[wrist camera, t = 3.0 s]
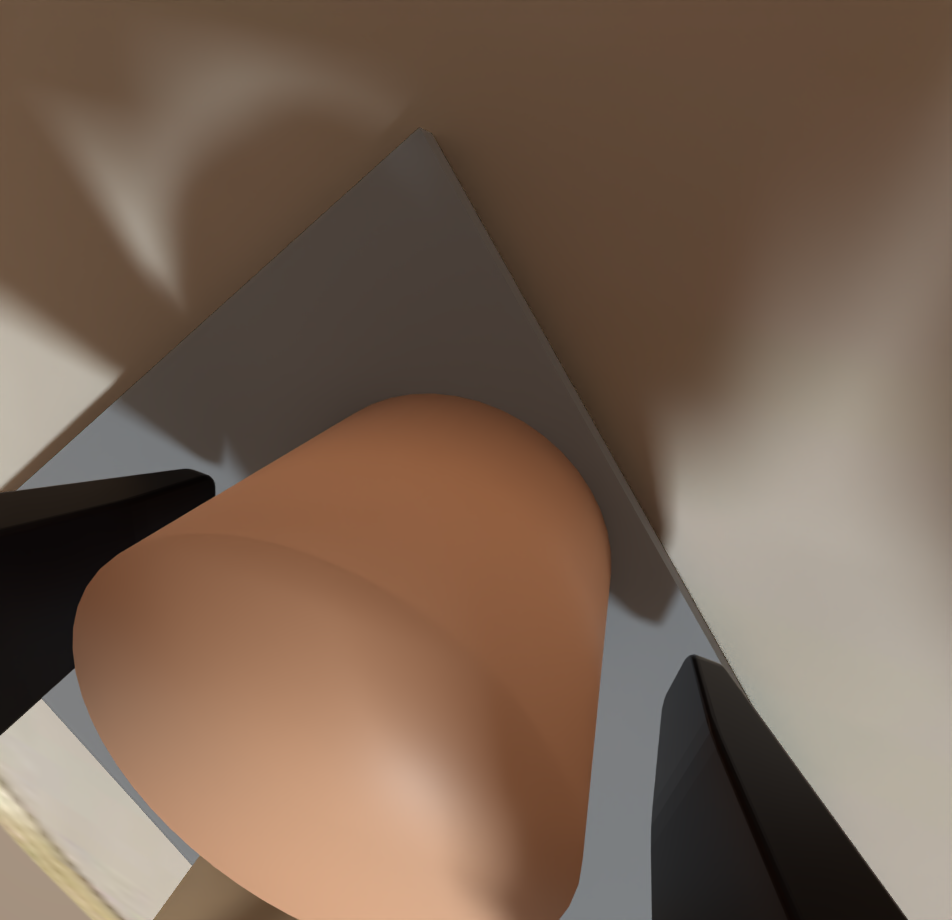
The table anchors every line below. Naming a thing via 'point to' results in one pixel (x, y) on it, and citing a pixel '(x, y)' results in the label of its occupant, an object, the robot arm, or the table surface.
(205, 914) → the tower base
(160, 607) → the peach gumdrop
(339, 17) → the table surface
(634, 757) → the mat
